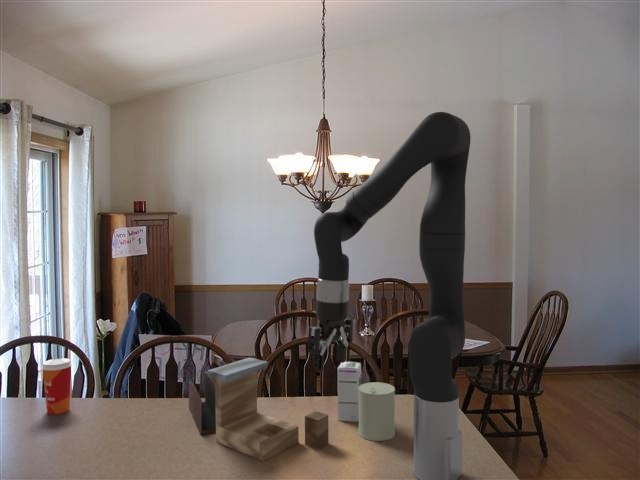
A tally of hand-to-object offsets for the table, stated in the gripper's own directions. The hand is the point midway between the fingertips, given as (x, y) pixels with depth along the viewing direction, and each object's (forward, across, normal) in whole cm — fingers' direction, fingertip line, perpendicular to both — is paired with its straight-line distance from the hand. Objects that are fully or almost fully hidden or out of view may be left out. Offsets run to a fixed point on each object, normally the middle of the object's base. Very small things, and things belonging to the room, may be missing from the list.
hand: (330, 365), depth 126 cm
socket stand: (+20, -9, +14) cm, 26 cm away
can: (+19, +13, -6) cm, 24 cm away
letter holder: (+22, -6, +34) cm, 41 cm away
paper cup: (+23, -29, +72) cm, 81 cm away
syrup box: (+20, +17, +5) cm, 27 cm away
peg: (+20, -1, +2) cm, 20 cm away
